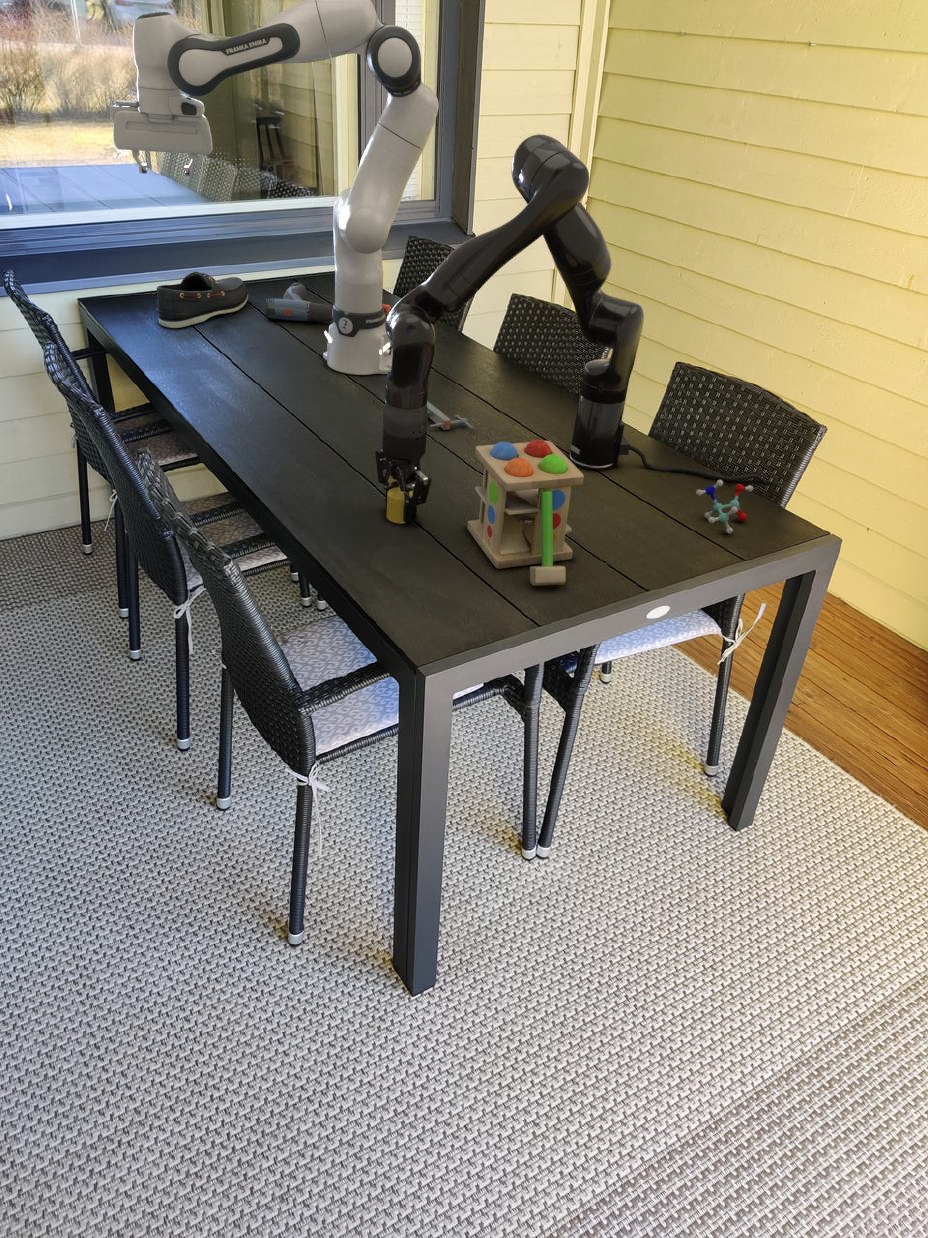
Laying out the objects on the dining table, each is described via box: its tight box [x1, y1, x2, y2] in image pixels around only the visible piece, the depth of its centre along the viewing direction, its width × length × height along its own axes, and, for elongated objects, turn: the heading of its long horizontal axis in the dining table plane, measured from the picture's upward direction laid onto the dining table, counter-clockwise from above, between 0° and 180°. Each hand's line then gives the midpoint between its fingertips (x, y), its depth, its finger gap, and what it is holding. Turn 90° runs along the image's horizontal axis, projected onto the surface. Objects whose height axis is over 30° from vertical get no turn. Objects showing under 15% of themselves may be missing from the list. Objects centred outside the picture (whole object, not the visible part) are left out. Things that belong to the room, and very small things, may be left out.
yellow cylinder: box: [386, 486, 413, 525], centre depth 175 cm, size 5×5×5 cm
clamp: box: [427, 400, 476, 432], centre depth 212 cm, size 15×2×10 cm
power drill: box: [264, 282, 333, 322], centre depth 265 cm, size 5×19×20 cm
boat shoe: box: [155, 271, 249, 329], centre depth 258 cm, size 13×33×10 cm, turn 147°
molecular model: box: [695, 479, 754, 535], centre depth 183 cm, size 12×10×10 cm
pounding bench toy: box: [466, 439, 585, 587], centre depth 163 cm, size 23×14×18 cm, turn 20°
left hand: (166, 174), depth 212 cm, fingers open, 8 cm apart
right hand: (400, 514), depth 176 cm, fingers closed on yellow cylinder, 5 cm apart
